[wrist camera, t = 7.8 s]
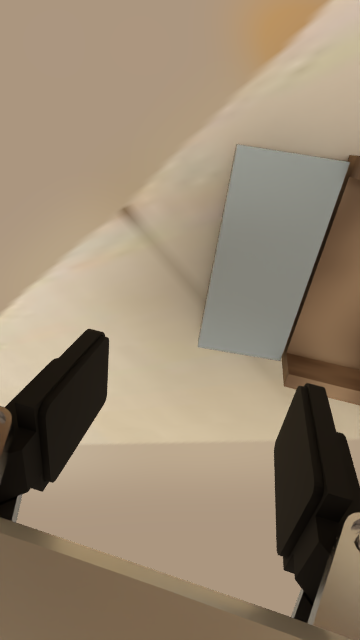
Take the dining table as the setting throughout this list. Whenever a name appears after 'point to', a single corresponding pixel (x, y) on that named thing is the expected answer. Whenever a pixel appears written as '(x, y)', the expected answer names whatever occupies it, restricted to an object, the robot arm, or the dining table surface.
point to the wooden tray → (331, 305)
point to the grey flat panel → (267, 248)
